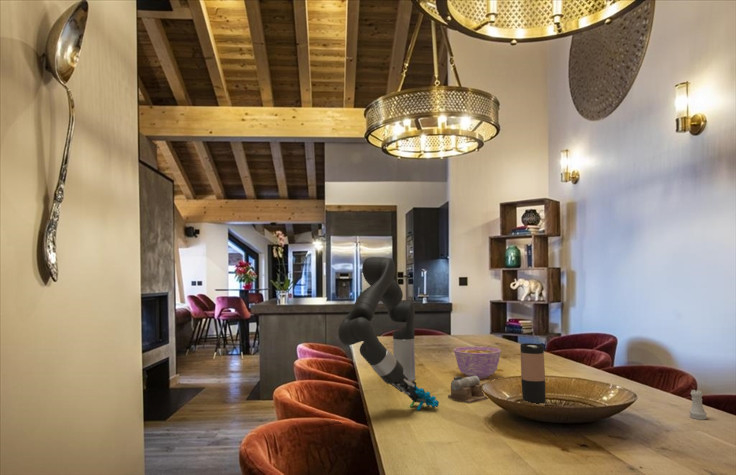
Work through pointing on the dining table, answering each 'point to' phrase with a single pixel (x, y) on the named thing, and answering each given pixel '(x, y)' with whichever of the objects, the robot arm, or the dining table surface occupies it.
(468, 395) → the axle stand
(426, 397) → the gear
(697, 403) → the rook chess piece
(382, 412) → the dining table surface
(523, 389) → the travel mug
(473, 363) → the bowl of food
